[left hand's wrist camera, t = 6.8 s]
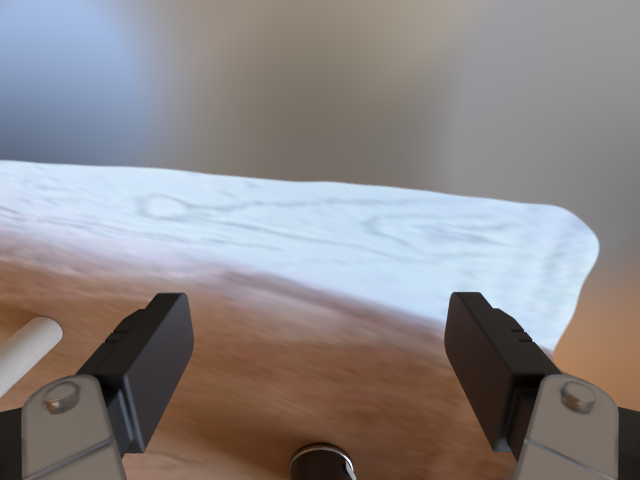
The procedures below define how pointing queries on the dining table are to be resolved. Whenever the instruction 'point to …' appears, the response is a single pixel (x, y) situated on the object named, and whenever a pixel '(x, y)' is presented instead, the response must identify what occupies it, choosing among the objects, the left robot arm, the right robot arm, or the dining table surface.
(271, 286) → the dining table surface
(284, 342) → the dining table surface
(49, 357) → the dining table surface
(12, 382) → the white tube
